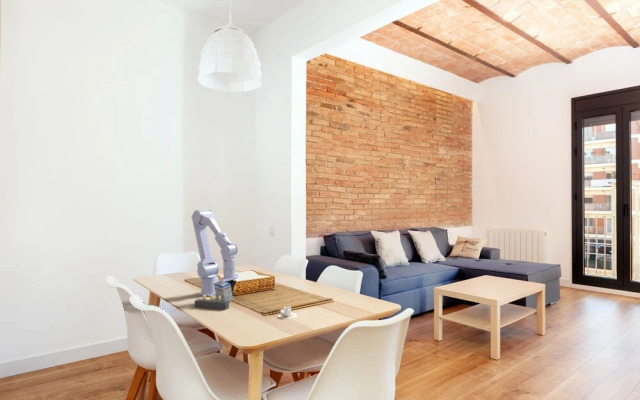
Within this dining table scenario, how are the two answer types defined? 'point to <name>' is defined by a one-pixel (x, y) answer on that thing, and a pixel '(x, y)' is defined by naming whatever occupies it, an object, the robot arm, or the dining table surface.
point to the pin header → (212, 303)
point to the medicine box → (223, 291)
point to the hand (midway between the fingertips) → (229, 295)
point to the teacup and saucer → (286, 312)
